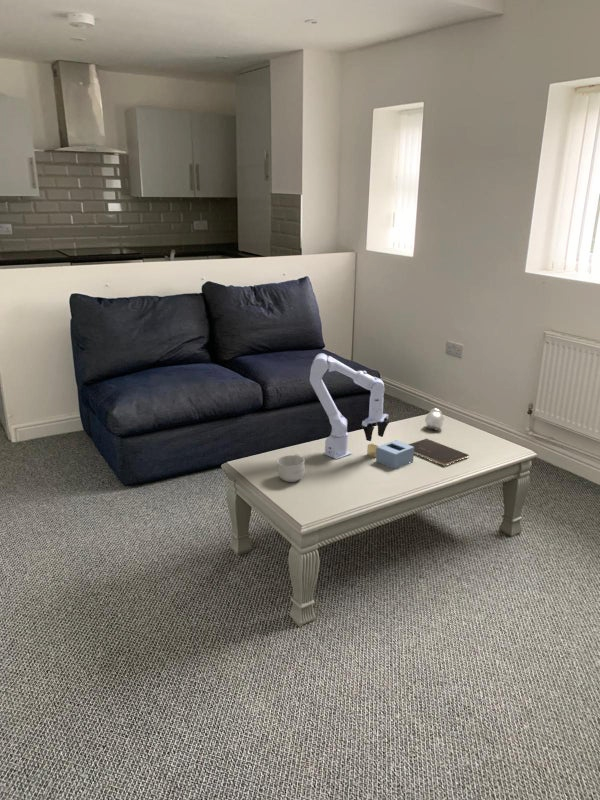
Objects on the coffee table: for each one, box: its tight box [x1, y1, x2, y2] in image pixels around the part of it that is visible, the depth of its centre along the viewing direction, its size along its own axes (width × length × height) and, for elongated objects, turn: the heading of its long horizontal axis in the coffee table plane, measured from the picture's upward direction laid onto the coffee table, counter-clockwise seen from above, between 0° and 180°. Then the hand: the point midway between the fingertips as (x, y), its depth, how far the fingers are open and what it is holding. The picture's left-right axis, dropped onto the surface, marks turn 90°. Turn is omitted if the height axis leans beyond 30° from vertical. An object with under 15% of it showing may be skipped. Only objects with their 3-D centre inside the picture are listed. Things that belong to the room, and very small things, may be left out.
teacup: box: [276, 453, 306, 483], centre depth 249 cm, size 14×11×8 cm
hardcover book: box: [408, 438, 469, 467], centre depth 275 cm, size 16×23×2 cm
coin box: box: [375, 440, 415, 470], centre depth 266 cm, size 12×10×6 cm
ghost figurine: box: [424, 407, 445, 430], centre depth 303 cm, size 9×10×10 cm
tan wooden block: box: [366, 443, 379, 458], centre depth 272 cm, size 3×5×4 cm, turn 42°
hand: (374, 438), depth 270 cm, fingers open, 7 cm apart
